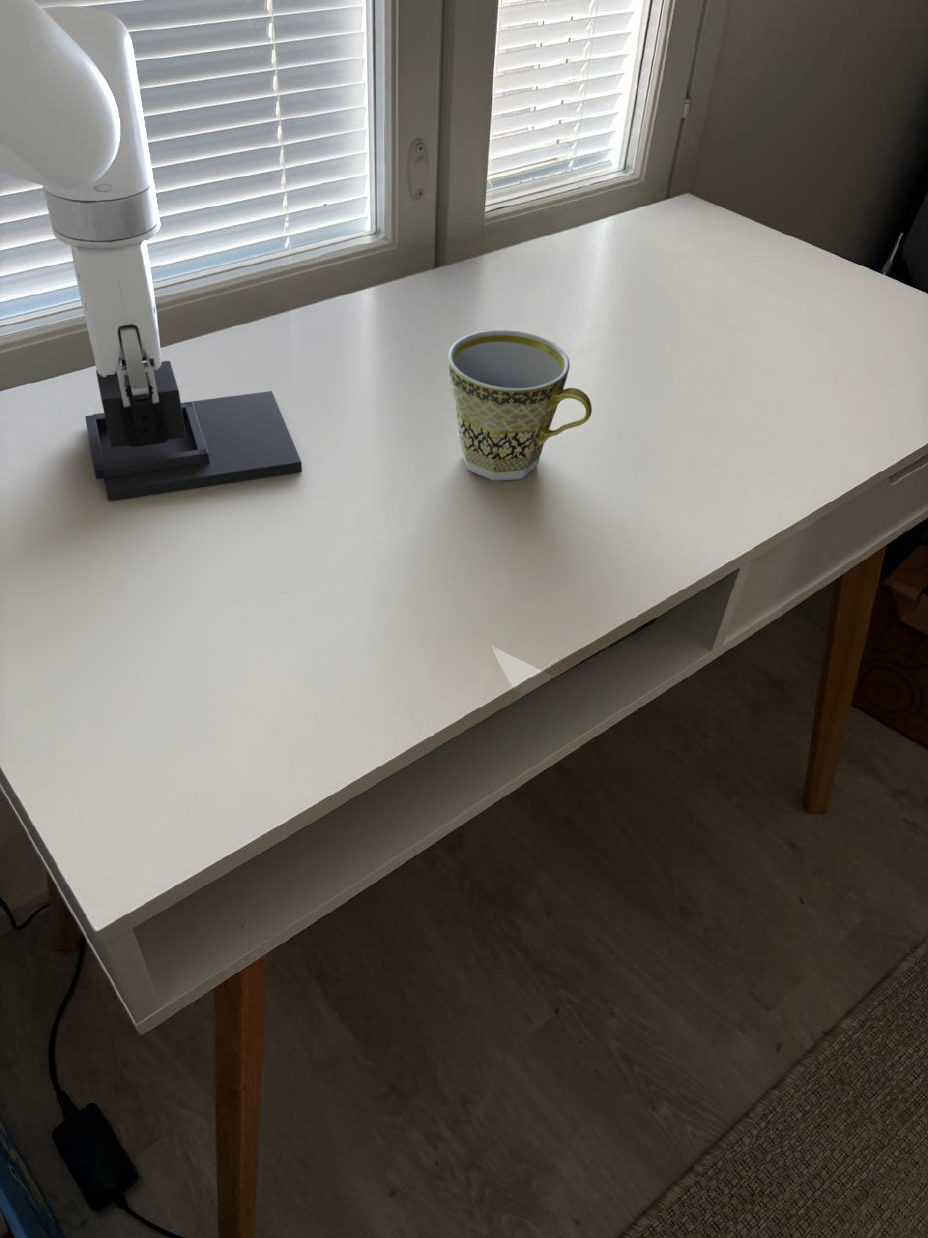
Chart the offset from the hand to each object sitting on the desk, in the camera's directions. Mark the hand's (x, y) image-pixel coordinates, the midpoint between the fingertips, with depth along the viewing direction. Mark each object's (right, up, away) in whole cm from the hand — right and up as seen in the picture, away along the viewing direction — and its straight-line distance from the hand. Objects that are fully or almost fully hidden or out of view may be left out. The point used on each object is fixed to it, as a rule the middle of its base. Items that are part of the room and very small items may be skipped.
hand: (143, 422), depth 85 cm
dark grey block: (0, 0, 0) cm, 0 cm away
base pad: (+4, -2, +3) cm, 5 cm away
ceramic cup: (+31, -3, +4) cm, 32 cm away
